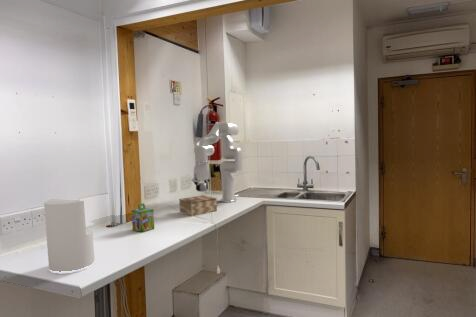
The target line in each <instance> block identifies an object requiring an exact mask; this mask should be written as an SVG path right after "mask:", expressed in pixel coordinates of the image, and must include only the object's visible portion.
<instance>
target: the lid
mask: <svg viewBox="0 0 476 317" xmlns="http://www.w3.org/2000/svg"><path fill="white" fill-rule="evenodd" d="M178 200H179V201H183V202H186V203H190V204H195V203H200V202H206V201H211V200H216V201H217V197H213V196H209V195H205V194H201V195H197V196H196V195H195V196H190V197H184V198H179V199H178Z"/></svg>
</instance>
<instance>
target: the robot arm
mask: <svg viewBox="0 0 476 317" xmlns="http://www.w3.org/2000/svg"><path fill="white" fill-rule="evenodd" d="M239 132H240V129H239V126H238V125H237V124H235V123H232V122H216V123H215V124H213V126H212V128H211V129H210V131H209V133H208V134H206V135H205V136H203V137H202V138H200V139H199V140H198V141H197V142H196V144H195V145H194V149H193V154H194V157H195V158H194V161H195V165H194V166H193V177H192V179H191V181H192V183H194V185H195V190H196V191H197V192H200V185H199V183H201V182H200V181H204V182H203V183H206V188H207V190H209V186H208V185H209V183H210V180H212V177H211V175H210V174H209V167H208V165H207V164H208V161H207V157H209V156H213V155H214V153H215V147H214V146H213V144H215V143H218V142H219V140H220V139H221V141H222V143H221V144H222V146H221V147H222V150H221V151H222V153H221V156H222V159H224V161H221V163H220V164H219V170H220V177H221V195H222V198H221V199H220V202H221V203H232V202H237V198H239V197H240V195H239V194H235V181H234V180H235V178H234V176H233V174H240V173H241V172H242V169H243V150H242V148H241V147H238V146H234V139H233V138H232V137H231V136H237V135H238V133H239Z"/></svg>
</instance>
